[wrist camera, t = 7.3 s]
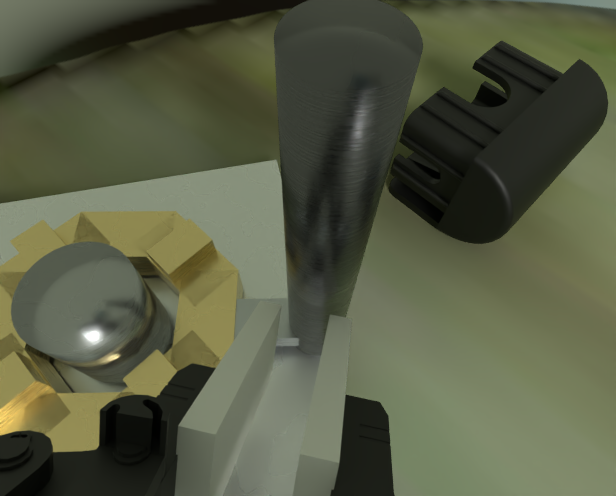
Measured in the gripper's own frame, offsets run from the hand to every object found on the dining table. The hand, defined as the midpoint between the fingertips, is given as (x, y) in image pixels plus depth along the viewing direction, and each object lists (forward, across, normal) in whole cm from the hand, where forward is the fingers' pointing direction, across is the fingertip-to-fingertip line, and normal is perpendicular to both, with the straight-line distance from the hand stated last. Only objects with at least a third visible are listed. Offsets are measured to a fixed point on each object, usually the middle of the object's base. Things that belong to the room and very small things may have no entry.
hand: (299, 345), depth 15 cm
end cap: (+15, -8, -5) cm, 18 cm away
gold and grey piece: (+4, +6, +3) cm, 8 cm away
